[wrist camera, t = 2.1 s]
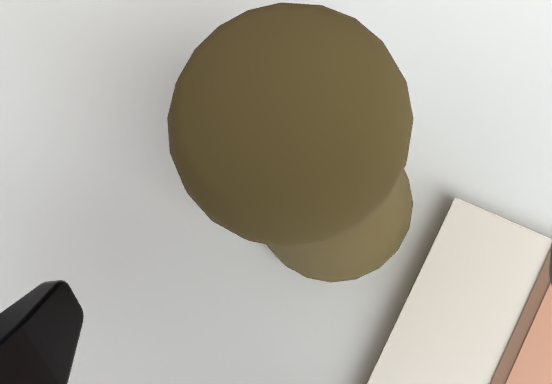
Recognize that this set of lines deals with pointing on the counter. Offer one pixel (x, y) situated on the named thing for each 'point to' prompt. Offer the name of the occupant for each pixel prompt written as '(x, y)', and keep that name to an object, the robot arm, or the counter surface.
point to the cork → (298, 138)
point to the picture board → (475, 307)
